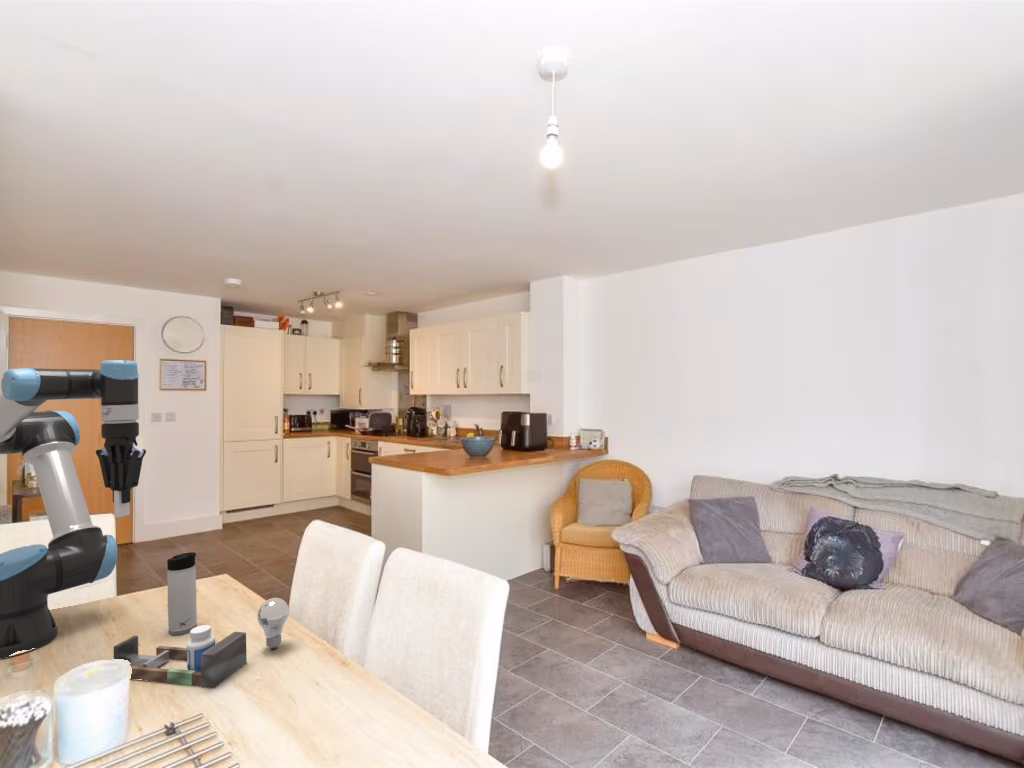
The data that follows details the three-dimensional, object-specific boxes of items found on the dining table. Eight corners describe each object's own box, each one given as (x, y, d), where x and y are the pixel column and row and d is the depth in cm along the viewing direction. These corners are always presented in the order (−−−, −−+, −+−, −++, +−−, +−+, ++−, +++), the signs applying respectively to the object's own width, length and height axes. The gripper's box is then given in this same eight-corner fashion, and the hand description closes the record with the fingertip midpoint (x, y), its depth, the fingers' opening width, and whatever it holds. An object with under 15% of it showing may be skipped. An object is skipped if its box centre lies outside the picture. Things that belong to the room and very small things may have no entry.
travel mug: (188, 635, 132) (186, 557, 132) (162, 636, 133) (161, 558, 133) (203, 624, 139) (201, 549, 139) (179, 624, 139) (177, 550, 139)
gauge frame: (121, 679, 113) (121, 647, 113) (160, 655, 123) (160, 625, 123) (213, 688, 109) (213, 655, 109) (246, 663, 119) (246, 632, 119)
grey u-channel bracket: (111, 670, 116) (111, 647, 116) (136, 656, 122) (135, 634, 122) (146, 673, 114) (146, 650, 114) (169, 659, 120) (169, 637, 120)
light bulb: (280, 638, 130) (279, 590, 130) (295, 646, 126) (294, 597, 126) (252, 649, 125) (251, 600, 125) (266, 659, 120) (265, 607, 120)
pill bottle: (221, 666, 117) (220, 623, 117) (204, 680, 112) (203, 635, 112) (199, 665, 118) (198, 622, 118) (181, 679, 113) (180, 634, 113)
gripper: (84, 423, 127) (85, 518, 127) (127, 423, 125) (129, 520, 125) (113, 420, 135) (115, 511, 135) (155, 420, 132) (156, 513, 132)
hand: (121, 515), depth 130 cm, fingers closed
